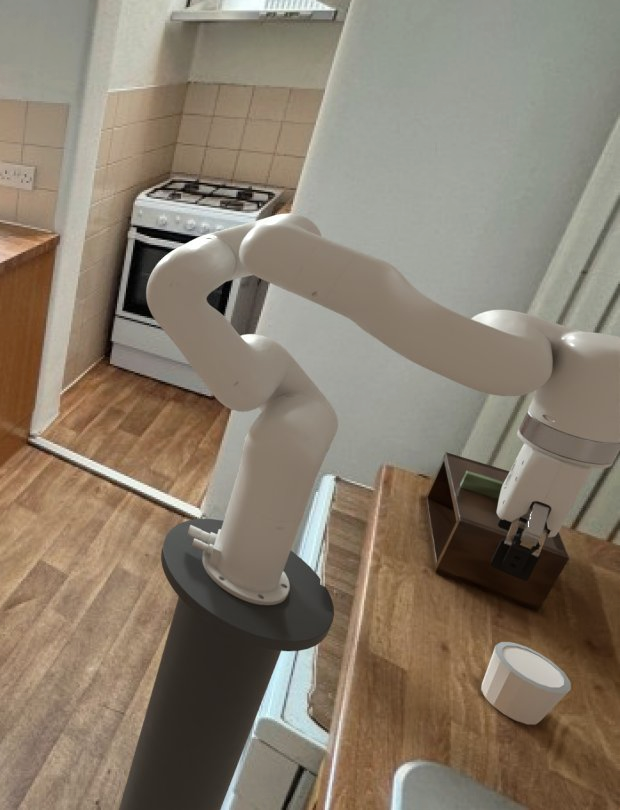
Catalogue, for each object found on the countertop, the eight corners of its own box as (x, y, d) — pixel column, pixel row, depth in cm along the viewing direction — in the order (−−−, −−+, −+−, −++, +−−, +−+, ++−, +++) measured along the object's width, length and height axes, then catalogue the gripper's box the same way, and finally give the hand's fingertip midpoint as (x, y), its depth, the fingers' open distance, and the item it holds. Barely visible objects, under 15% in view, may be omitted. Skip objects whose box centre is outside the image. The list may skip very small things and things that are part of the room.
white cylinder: (480, 708, 78) (502, 671, 76) (469, 667, 84) (489, 631, 81) (555, 741, 75) (580, 704, 72) (539, 696, 80) (562, 659, 77)
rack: (435, 572, 99) (467, 505, 94) (424, 498, 115) (451, 438, 110) (538, 612, 92) (578, 542, 87) (511, 528, 108) (544, 465, 103)
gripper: (526, 397, 77) (478, 503, 83) (516, 452, 66) (461, 570, 72) (615, 422, 72) (557, 534, 78) (620, 487, 61) (552, 611, 67)
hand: (511, 551), depth 75 cm, fingers open, 9 cm apart
